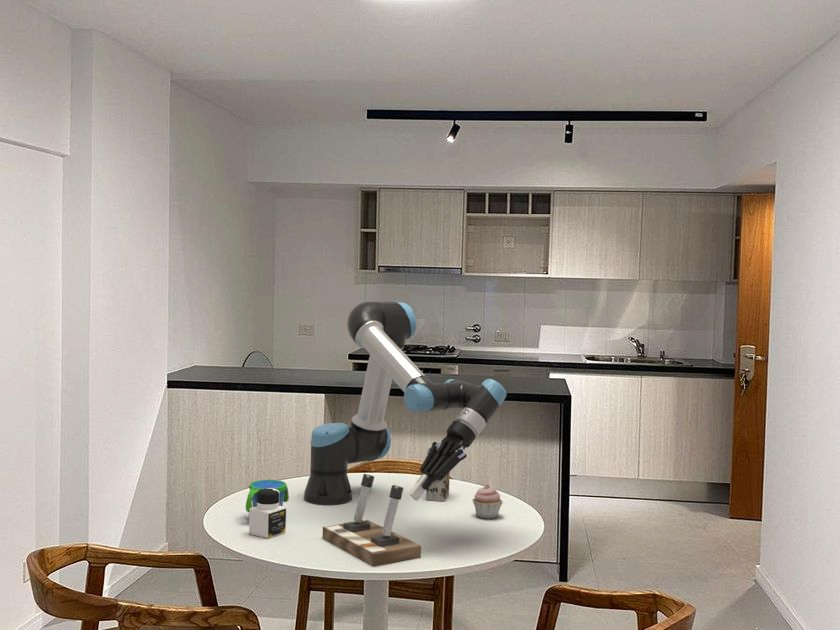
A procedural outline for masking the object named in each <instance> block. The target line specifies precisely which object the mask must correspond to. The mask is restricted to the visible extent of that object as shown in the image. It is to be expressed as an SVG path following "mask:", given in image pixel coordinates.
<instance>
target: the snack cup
mask: <svg viewBox="0 0 840 630" xmlns="http://www.w3.org/2000/svg"><path fill="white" fill-rule="evenodd" d="M287 485H288V484H287V483H286V482H285V481H282V480H278V479H260V480H255V481H252V482H251V483H249V485H248V487H249V491H248V494H247V497H246V502H245V511H246V512H247V513H249V514H250V508H252V507H256V506H258V505H257V492H258V491H259V490H261V489H265V488H273V489H276V490H278V491H279V492H280V498H279V505H278V506H283V507H284V503H287V502H288V501H289V499H290V498H289V497H290V496H289V489H288V486H287Z"/></svg>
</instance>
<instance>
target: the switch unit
mask: <svg viewBox="0 0 840 630" xmlns="http://www.w3.org/2000/svg"><path fill="white" fill-rule="evenodd" d="M382 530H383V526H381V525H379V524H377V523H375V522H372V521H371V520H369V519H365V520H364V519H362V522H356V521H354V520H353V521H350V522H343V523H339V524H333V525H327V526H323V527H322V539H323V538H324V540H325V541H327V542H329V543H331V544H332V543H333V544H332V545H334V546H336V547H338V548H339V549H341V550H344V551H345V552H347V553H348V554H350V553H351V554H350V555H352V556H354V557H356V558H358V559H359V560H361V559H362V561H363V560H364V561H363V562H366V563H367V564H369V565H370V564H371V565H370V566H371V567H372V566H373V567H376V566H382V565H388V564H392V563H398V562H402V561H409V560H412V559H417V558H421V557H422V545H421V544H419V543H417V542H414V541H413V540H410V539H408V538H406V537H404V536H402V535H400V534H398V533H396V532H394V531H393V530H391V534H390V536H385V535H383V534H382Z"/></svg>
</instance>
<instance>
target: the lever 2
mask: <svg viewBox="0 0 840 630" xmlns="http://www.w3.org/2000/svg"><path fill="white" fill-rule="evenodd" d="M403 491H404V487H403V486H400V485H396V484H391V488H390V493H389V495H388V497H389V499H390V500H389V502H388V507H387V510H386V515H385V519H384V523H383V526H382V527H383V530H382V534H383V535H385V536H390V534H391V531H393V530H392V529H393V525H394V523H395V522H394V521H395V517H396V515H397V514H396V513H397V510H398V505H399V502H400V500H401V499H402V495H403Z"/></svg>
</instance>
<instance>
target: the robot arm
mask: <svg viewBox="0 0 840 630" xmlns="http://www.w3.org/2000/svg"><path fill="white" fill-rule="evenodd" d="M417 326H418V325H417V318H416V314H415V312H414V309H413V308H412V307H411V306H410V305H409V304H408V303H405V302H399V301H395V300H394V301H364V302H361V303H359V304H357V305H356V306H355V307H353V308H352V309H351V311H350V312H349V315H348V317H347V330H348V334H349V336H350V337H351V340H352V341H353V342H354V344H355V345H357V346H358V347H359V348H361V349H365V350H366V351H367V352H368V354H369V358H368V362H367V368H366V372H365V378H364V383H363V387H362V392H361V396H360V401H359V406H358V411H357V414H355V415H354V416H352V417H351V421H350V425H348V424H346V423H344V422H334V423H331V422H329V423H324V424H320V425H318V426H316V427H315V428H313V430H312V432H311V437H310V438H311V439H310V474H309V477H308V480H307V483H306V486H305V488H304V491H303V499H304V501H305V502H308V503H311V504H317V505H327V506H328V505H330V506H331V505H340V504H346V503H349V502H351V501H352V500H353V490H352V487H351V484H350V479H349V477H348V464H356V463H364V462H373V461H376V460H380V459H382V458H384V457H385V456H386V455H387V454H388V452H389V450H390V448H391V445H392V444H391V443H392V437H391V431H390V429H389V428H388V424H387V422H386V421H385V414H386V409H387V405H388V400H389V396H390V391H391V386H392V382H394V383H395V384H396V385H397V386H398V387H399V388H400V389H401V390H402V392H404V393H403V394H404V395H403V400H404V401H403V402H404V403H405V406H406V408H407V410H409V411H410V412H412V413H427V412H434V411H435V412H436V411H446V410H447V411H448V410H457V409H459V410H461V411H460V412H459V413H458V415H457V417H456V418H455V420H453V421H451V423H450V425H449V426H448V427H447V429H446V436H445V437H443V439H442V440H441V441H440V442H436V441H433V442H432V444H431V447H430V448H431V450H430V452H429V453H428V452H427V453H428V455H427V454H426V455H427V456H426V457H425V459H424V461H423V462H422V464H421V466H420V468H419V471H420V472H421V475H420V477H419V478H418V479H417V481H416V482H415V485H414V486H413V487H412V488H411V490H410V491H409V492H408V494H409V496H410V497H411V498H412V499H413V500H414V501H416V502H419V500H420V499H421V497H423V495H424V494H425V493H426V490H427V489H428V488H429V487H430V485H431V484H432V483H433V481H436V480H439V481H441V480H442V479H443V478H444V477H445V476H446V475H447V474H448V473H449V472H450V473H451V471H452V470H453V469H454V468H455V467H456V466H457V465H459V463H460V462H461V461H463V460H464V459H466V458H467V457H468V456H467V453H466V452H465V449H466V448H469V447H471V445H472V444H473V442H474V441H475V440H476V438H477V437H478V436H479V435H480V433H481V432H482V431H483V429H484V428H485V427H486V426H487V423H488V422H489V421H490V419H492V417H493V416H494V414H495V413H496V412H497V411H498V409H499V408H501V407H502V404H503V403H504V401H505V399H506V397H507V391H506V389H505V388H504V387H503V386H502V384H501V383H499V382H498V381H496V380H495V379H492V378H488V379H485V380H484V381H483V382H482V383H481V384H474V383H469V382H466V381H464V380H461V379H452V378H451V379H447V380H446V381H444V382H439V383H437V382H435V383H434V382H432V381H431V380H430V379H429V378H428V377H427V376H426V375H425V374H424V373H423V372H422V370H420V368H419V367H417V365H416V364H415V363H414V362H413V361H412V360H411V359H410V358H409V356H407V354H406V353H405V352H404V351H403V349H404V348H405V345H406V342H407V341H406V340H410V339H411V338H412V337H414V335H415V333H416V332H417Z"/></svg>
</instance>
